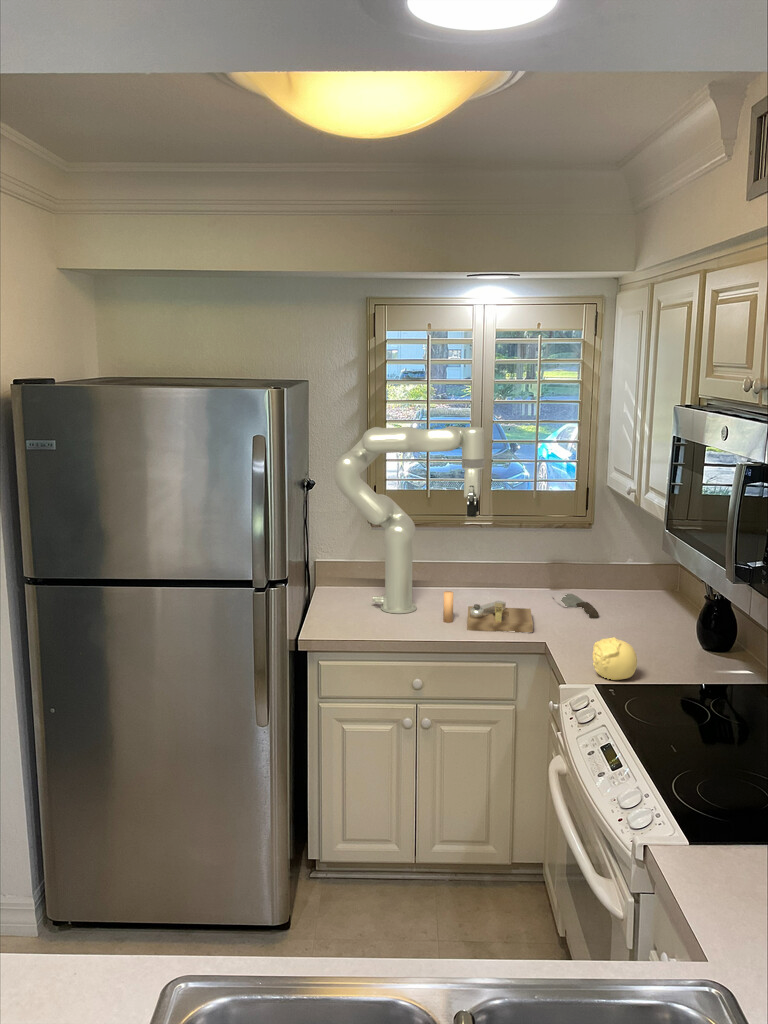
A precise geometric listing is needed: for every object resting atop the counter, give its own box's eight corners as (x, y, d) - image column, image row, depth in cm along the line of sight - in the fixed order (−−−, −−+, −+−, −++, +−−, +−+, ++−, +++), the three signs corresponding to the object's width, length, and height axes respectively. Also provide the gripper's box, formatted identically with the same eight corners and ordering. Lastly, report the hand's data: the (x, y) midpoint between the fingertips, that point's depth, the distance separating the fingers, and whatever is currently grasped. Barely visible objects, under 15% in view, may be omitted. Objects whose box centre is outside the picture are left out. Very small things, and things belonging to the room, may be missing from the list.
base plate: (466, 630, 270) (467, 609, 269) (468, 614, 287) (468, 595, 286) (532, 633, 268) (533, 612, 266) (530, 617, 284) (530, 597, 283)
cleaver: (605, 618, 284) (605, 612, 283) (578, 620, 282) (578, 614, 282) (571, 596, 312) (572, 590, 312) (546, 597, 311) (547, 591, 310)
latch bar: (477, 618, 272) (477, 611, 271) (467, 615, 275) (467, 608, 274) (507, 609, 282) (507, 602, 281) (496, 606, 285) (497, 600, 285)
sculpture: (587, 668, 237) (588, 632, 235) (629, 668, 237) (631, 632, 235) (596, 684, 226) (598, 645, 224) (641, 684, 226) (643, 646, 224)
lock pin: (443, 622, 278) (443, 593, 276) (443, 619, 281) (444, 591, 279) (452, 623, 278) (453, 594, 276) (453, 620, 281) (453, 591, 279)
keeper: (494, 621, 269) (494, 608, 269) (494, 615, 276) (494, 602, 275) (502, 622, 269) (502, 608, 268) (501, 616, 275) (502, 603, 275)
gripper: (464, 460, 290) (464, 509, 293) (459, 467, 273) (459, 518, 276) (486, 461, 288) (485, 509, 291) (482, 467, 272) (482, 519, 275)
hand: (473, 514), depth 284 cm, fingers open, 9 cm apart
